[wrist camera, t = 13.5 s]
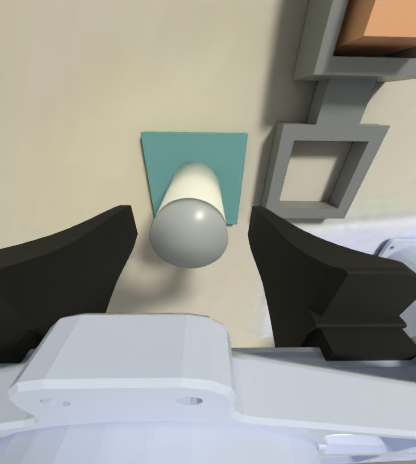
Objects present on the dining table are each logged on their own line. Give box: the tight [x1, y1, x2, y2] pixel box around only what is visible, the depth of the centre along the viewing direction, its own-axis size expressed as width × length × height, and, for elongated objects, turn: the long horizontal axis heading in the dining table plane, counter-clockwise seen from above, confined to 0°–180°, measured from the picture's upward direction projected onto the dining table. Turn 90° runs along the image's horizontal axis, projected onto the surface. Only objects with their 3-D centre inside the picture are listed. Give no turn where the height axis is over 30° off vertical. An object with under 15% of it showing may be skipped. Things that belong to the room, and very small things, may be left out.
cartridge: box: [150, 161, 228, 268], centre depth 13 cm, size 4×4×8 cm
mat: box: [141, 132, 248, 224], centre depth 16 cm, size 8×8×1 cm
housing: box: [261, 0, 416, 218], centre depth 13 cm, size 16×8×3 cm, turn 179°
